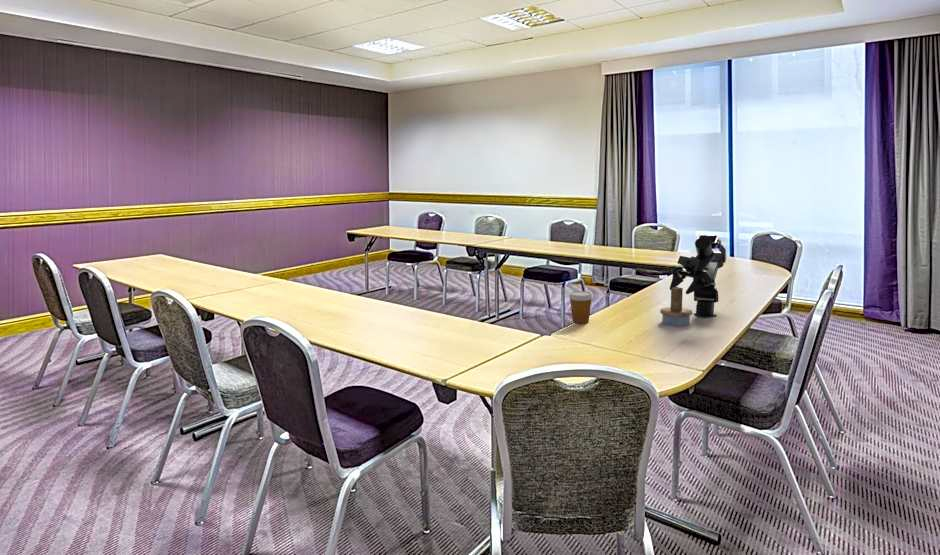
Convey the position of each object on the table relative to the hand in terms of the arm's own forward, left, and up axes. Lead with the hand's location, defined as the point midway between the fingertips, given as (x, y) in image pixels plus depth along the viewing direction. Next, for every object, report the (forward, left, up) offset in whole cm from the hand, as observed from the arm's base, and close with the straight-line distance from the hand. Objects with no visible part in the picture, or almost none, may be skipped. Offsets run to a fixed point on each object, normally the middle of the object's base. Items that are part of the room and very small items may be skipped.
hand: (678, 291), depth 236 cm
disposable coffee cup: (+33, -19, -13) cm, 40 cm away
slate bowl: (+1, 0, -12) cm, 12 cm away
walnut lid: (+1, 0, -8) cm, 8 cm away
